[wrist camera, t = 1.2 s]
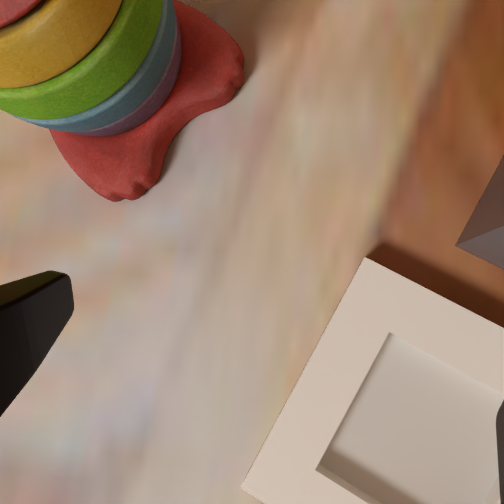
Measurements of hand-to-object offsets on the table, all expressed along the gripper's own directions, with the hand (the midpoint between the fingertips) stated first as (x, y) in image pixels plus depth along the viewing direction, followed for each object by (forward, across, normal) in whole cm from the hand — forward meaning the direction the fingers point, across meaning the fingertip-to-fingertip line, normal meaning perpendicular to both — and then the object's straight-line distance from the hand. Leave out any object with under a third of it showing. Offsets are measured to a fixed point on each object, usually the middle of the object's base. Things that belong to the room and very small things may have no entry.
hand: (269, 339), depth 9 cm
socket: (+9, -6, +11) cm, 16 cm away
